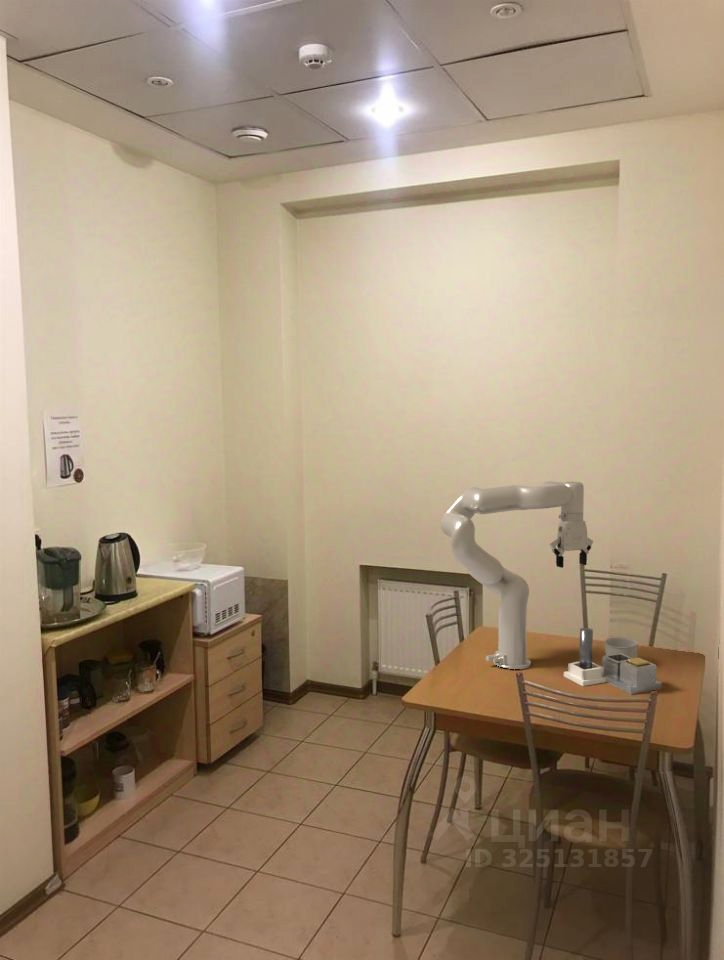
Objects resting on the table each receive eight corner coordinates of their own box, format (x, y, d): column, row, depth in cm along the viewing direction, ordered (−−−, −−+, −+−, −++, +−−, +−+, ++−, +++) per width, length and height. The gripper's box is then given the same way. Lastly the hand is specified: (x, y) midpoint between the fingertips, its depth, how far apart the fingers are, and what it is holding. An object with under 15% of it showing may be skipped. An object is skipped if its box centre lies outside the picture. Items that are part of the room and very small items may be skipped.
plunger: (637, 682, 242) (637, 663, 241) (627, 677, 246) (627, 659, 245) (648, 680, 243) (648, 661, 243) (638, 675, 247) (638, 657, 247)
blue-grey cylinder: (584, 677, 250) (585, 632, 249) (576, 673, 254) (577, 628, 252) (594, 675, 252) (595, 630, 250) (586, 671, 255) (587, 627, 254)
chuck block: (630, 694, 239) (631, 669, 238) (594, 676, 255) (594, 652, 254) (661, 688, 243) (662, 664, 242) (623, 671, 259) (624, 648, 259)
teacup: (641, 668, 262) (642, 645, 261) (610, 669, 262) (610, 646, 261) (627, 655, 276) (628, 633, 275) (597, 655, 276) (597, 634, 275)
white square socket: (582, 686, 246) (583, 672, 246) (563, 676, 256) (563, 662, 255) (608, 681, 250) (608, 668, 250) (588, 672, 259) (588, 658, 259)
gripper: (557, 520, 262) (557, 570, 264) (599, 516, 268) (598, 565, 270) (544, 517, 269) (544, 565, 270) (585, 514, 275) (585, 561, 277)
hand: (571, 565), depth 270 cm, fingers open, 9 cm apart
